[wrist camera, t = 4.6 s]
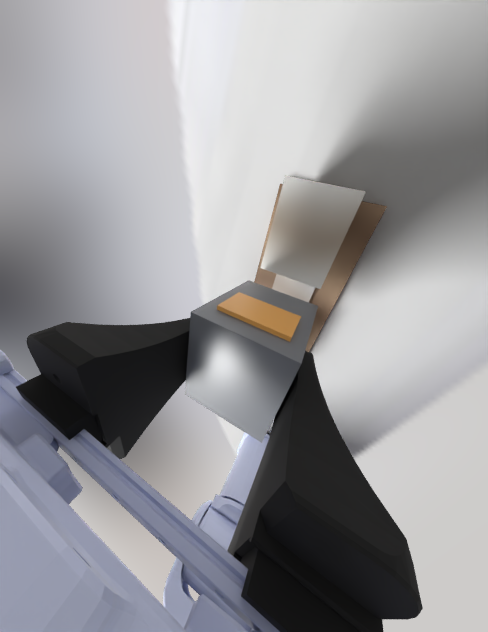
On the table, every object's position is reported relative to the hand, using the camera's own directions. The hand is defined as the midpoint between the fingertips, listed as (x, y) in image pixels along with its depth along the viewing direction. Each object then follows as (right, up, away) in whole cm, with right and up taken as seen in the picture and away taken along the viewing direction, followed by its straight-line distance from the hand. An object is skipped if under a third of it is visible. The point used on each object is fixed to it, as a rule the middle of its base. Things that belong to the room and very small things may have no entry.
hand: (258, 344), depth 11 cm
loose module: (+1, +1, +2) cm, 2 cm away
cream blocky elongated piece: (+4, +4, +8) cm, 9 cm away
